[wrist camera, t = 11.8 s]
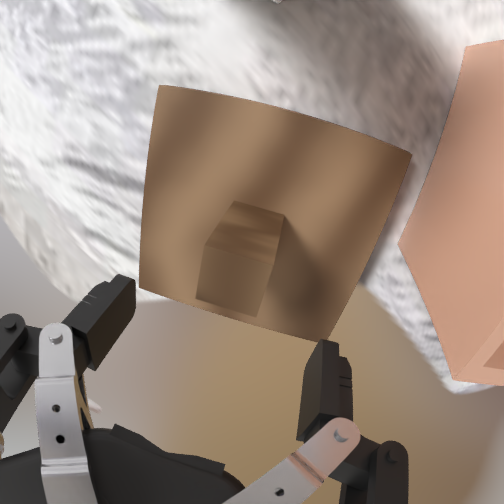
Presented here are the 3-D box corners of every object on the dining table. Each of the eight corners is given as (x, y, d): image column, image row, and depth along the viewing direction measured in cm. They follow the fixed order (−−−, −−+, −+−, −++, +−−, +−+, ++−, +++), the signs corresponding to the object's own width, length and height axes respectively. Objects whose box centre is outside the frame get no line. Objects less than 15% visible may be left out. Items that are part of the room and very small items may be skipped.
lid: (407, 151, 16) (454, 183, 10) (324, 335, 24) (323, 406, 18) (165, 85, 17) (100, 87, 11) (144, 280, 25) (102, 336, 19)
